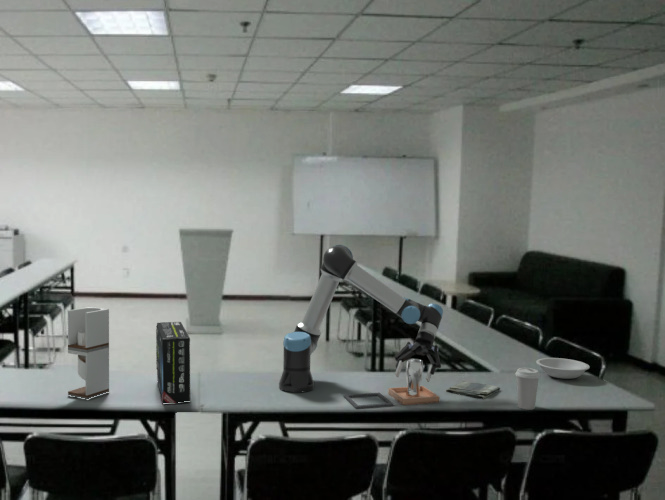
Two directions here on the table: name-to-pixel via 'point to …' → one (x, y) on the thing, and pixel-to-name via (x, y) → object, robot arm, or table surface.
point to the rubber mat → (388, 403)
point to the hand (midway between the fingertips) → (411, 377)
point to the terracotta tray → (424, 398)
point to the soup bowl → (562, 367)
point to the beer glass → (414, 377)
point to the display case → (90, 349)
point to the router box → (173, 362)
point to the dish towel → (473, 389)
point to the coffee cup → (527, 387)
